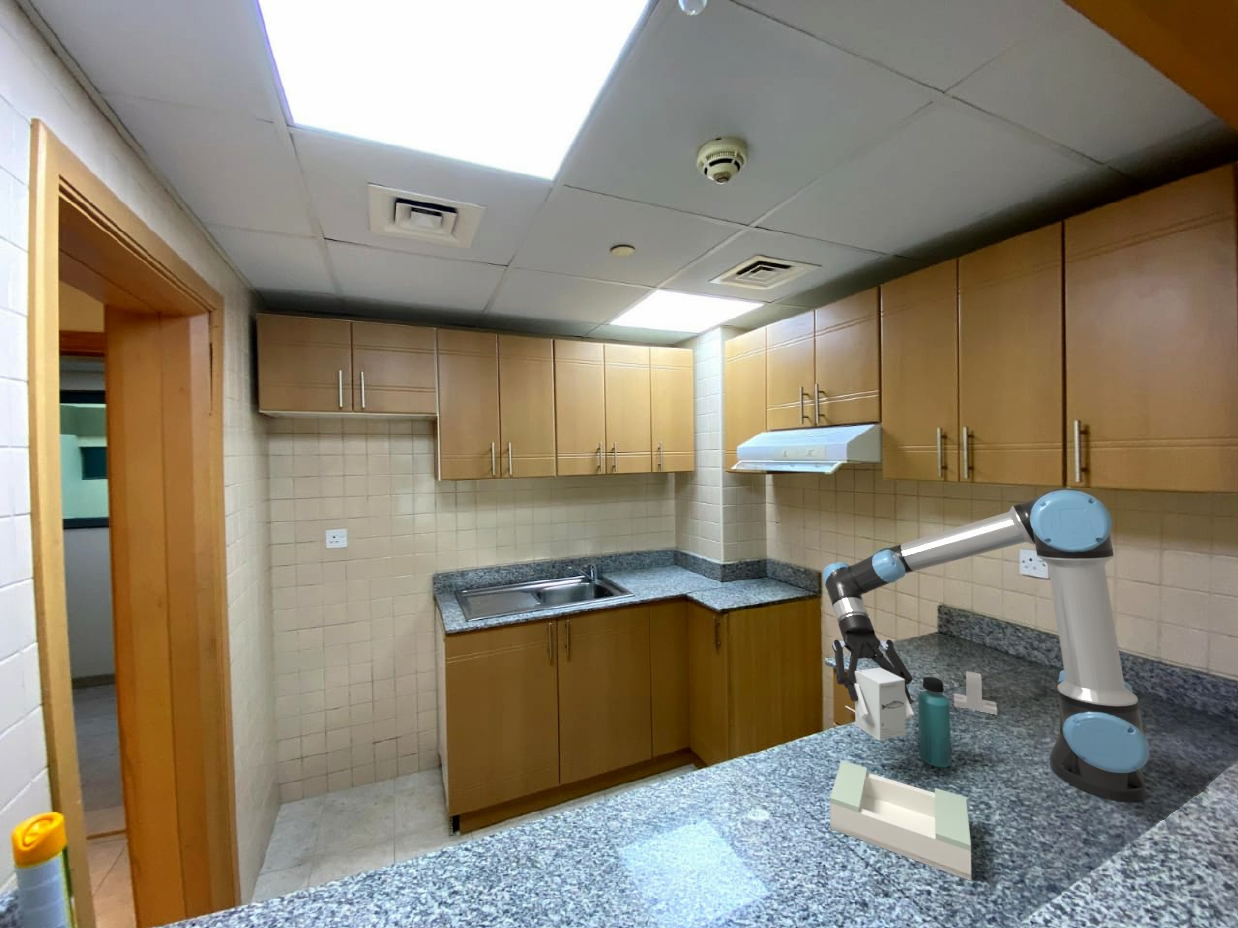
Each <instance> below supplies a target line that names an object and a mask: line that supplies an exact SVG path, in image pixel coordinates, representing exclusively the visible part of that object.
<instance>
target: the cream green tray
mask: <svg viewBox="0 0 1238 928" xmlns="http://www.w3.org/2000/svg"><path fill="white" fill-rule="evenodd" d="M829 815H830V816H829V824H830V825H829V826H830V830H833V831H835V832H838V833H840V834H844V835H846V836H848V837H851V838H854V839H856V840H859V841H862V842H865V843H867V844H870V845H872V846H874V847H875V846H876V847H878V848H881V849H884V850H886V851H889V852H892V853H894V854H897V855H900V856H902V857H905V858H907V859H911V860H913V861H917V862H918V863H922V864H924V865H927V866H929V867H932V868H935V869H937V870H939V871H940V870H941V871H943V872H946V873H949V874H950V875H954V876H956V877H959V878H961V879H964V880H967V881H969V882H972V843H971V835H970V833H971V832H970V825H969V824H970V823H969V814H968V806H967V797H966V796H963V795H960V794H957V793H953V792H950V791H947V790H943V789H940V788H936V787H935V788H934V792H932V791H930V790H926V789H923V788H919V787H916V786H913V785H910V784H906V783H902V782H899V781H896V780H893V779H889V778H887V777H883V776H879V775H876V774H874V773H873V774H872V773H869V772H868V767H865V766H863V765H858V764H855V763H853V762H849V761H845V760H840V763H839V765H838V770H837V773H836V776H835V780H834V784H833V787H832V790H831V793H830V797H829Z"/></svg>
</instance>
